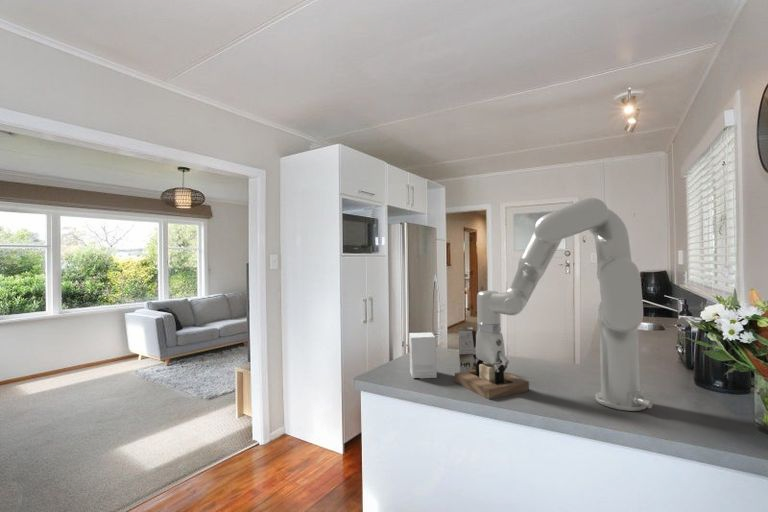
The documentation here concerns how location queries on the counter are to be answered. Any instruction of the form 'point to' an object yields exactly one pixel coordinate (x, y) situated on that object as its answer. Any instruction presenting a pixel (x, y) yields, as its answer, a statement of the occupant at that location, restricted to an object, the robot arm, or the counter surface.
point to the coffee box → (467, 348)
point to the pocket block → (491, 384)
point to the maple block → (487, 372)
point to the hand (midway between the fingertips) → (489, 379)
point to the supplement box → (422, 355)
